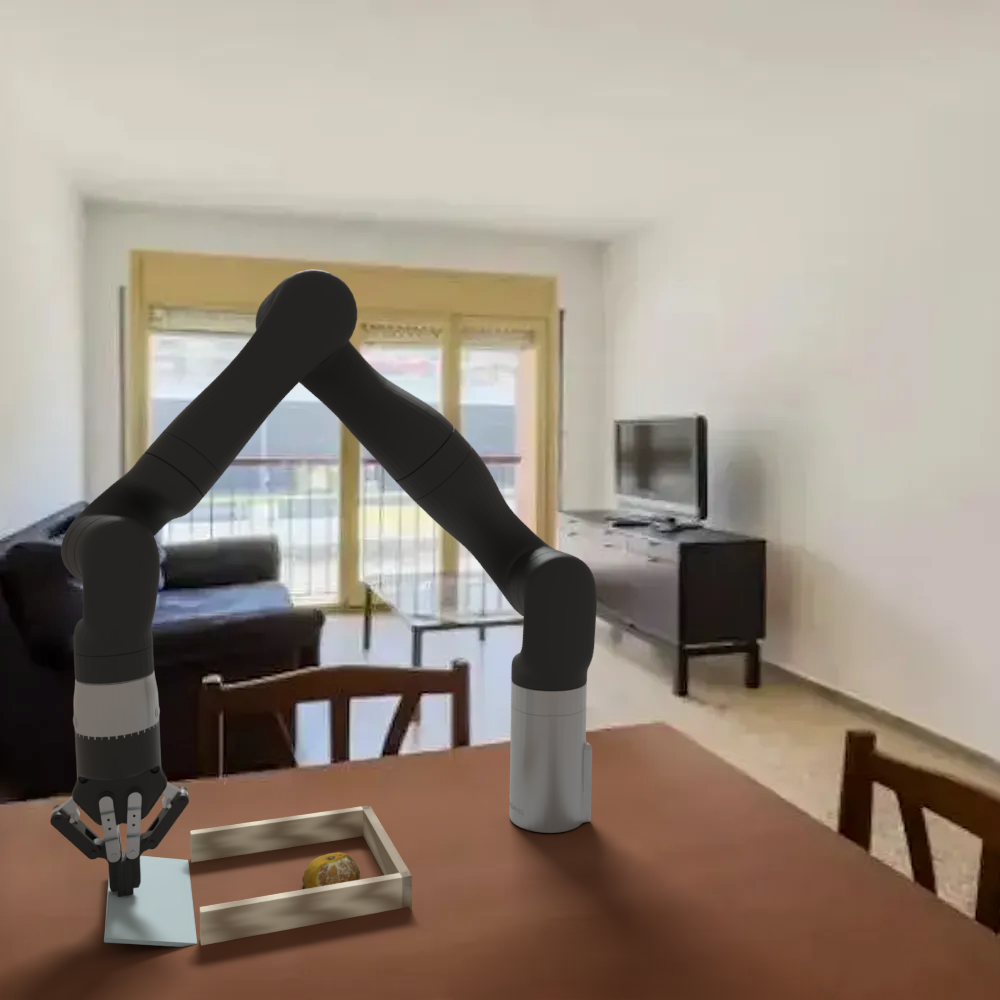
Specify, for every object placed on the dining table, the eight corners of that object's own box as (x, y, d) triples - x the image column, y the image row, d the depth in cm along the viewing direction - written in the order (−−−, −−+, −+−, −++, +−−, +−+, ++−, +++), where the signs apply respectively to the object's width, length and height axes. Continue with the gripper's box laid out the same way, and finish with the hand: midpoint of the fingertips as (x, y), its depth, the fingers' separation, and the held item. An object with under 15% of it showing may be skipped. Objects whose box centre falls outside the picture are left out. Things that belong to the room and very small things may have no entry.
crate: (369, 834, 108) (369, 805, 108) (411, 909, 91) (411, 875, 91) (190, 861, 101) (190, 830, 100) (200, 949, 84) (200, 912, 84)
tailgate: (188, 860, 100) (110, 852, 97) (197, 943, 84) (105, 937, 81) (187, 863, 100) (109, 856, 97) (196, 947, 84) (103, 942, 81)
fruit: (330, 926, 88) (330, 890, 88) (280, 896, 94) (280, 861, 94) (395, 894, 95) (395, 860, 94) (345, 868, 100) (345, 835, 100)
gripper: (188, 700, 94) (194, 862, 96) (45, 717, 89) (54, 887, 91) (191, 723, 87) (198, 897, 89) (36, 742, 82) (47, 926, 84)
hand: (125, 892), depth 90 cm, fingers closed
